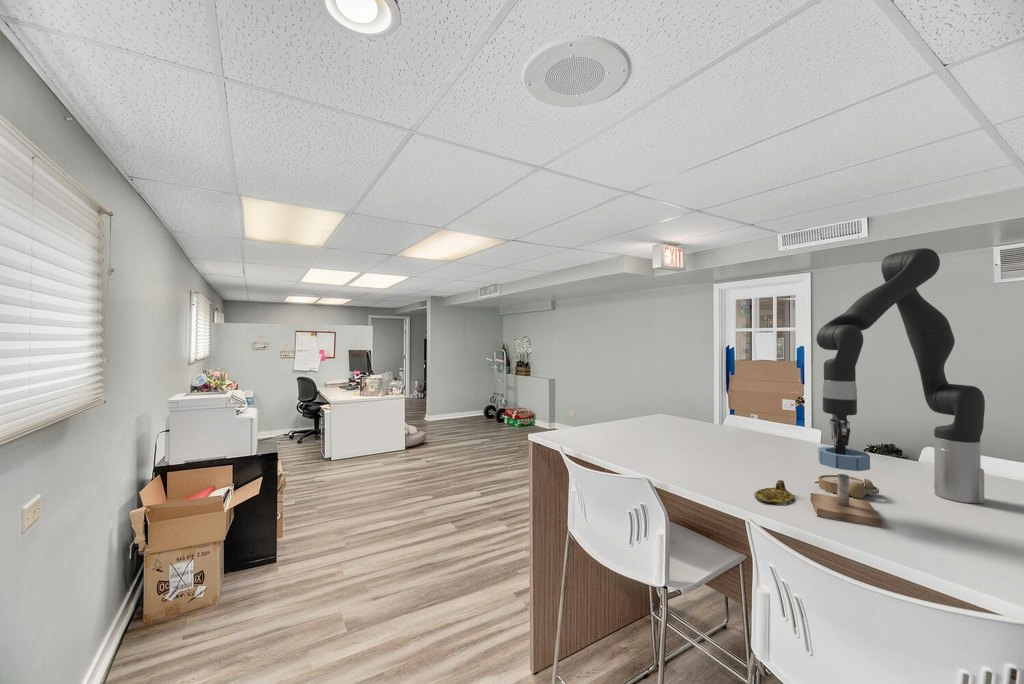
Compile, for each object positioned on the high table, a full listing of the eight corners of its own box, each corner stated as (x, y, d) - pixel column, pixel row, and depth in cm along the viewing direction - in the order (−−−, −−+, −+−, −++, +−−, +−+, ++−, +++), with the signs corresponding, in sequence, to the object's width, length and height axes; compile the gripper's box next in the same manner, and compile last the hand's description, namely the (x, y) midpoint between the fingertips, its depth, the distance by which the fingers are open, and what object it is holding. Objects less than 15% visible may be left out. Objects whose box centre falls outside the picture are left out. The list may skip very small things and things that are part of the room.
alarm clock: (828, 473, 135) (885, 478, 122) (831, 488, 135) (888, 495, 121) (809, 478, 130) (866, 484, 117) (812, 494, 129) (870, 502, 116)
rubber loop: (863, 462, 113) (863, 449, 113) (873, 473, 104) (873, 459, 104) (816, 457, 118) (816, 445, 118) (822, 467, 109) (822, 454, 109)
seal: (783, 514, 113) (799, 499, 123) (785, 497, 113) (801, 484, 123) (746, 500, 120) (764, 487, 130) (748, 485, 120) (766, 473, 130)
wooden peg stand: (868, 508, 113) (868, 472, 113) (881, 527, 102) (881, 486, 102) (810, 499, 120) (810, 465, 120) (817, 516, 108) (816, 478, 108)
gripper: (862, 400, 107) (863, 466, 107) (851, 394, 119) (851, 454, 119) (826, 398, 111) (827, 462, 111) (819, 393, 122) (819, 451, 123)
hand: (839, 458), depth 115 cm, fingers closed on rubber loop, 1 cm apart
